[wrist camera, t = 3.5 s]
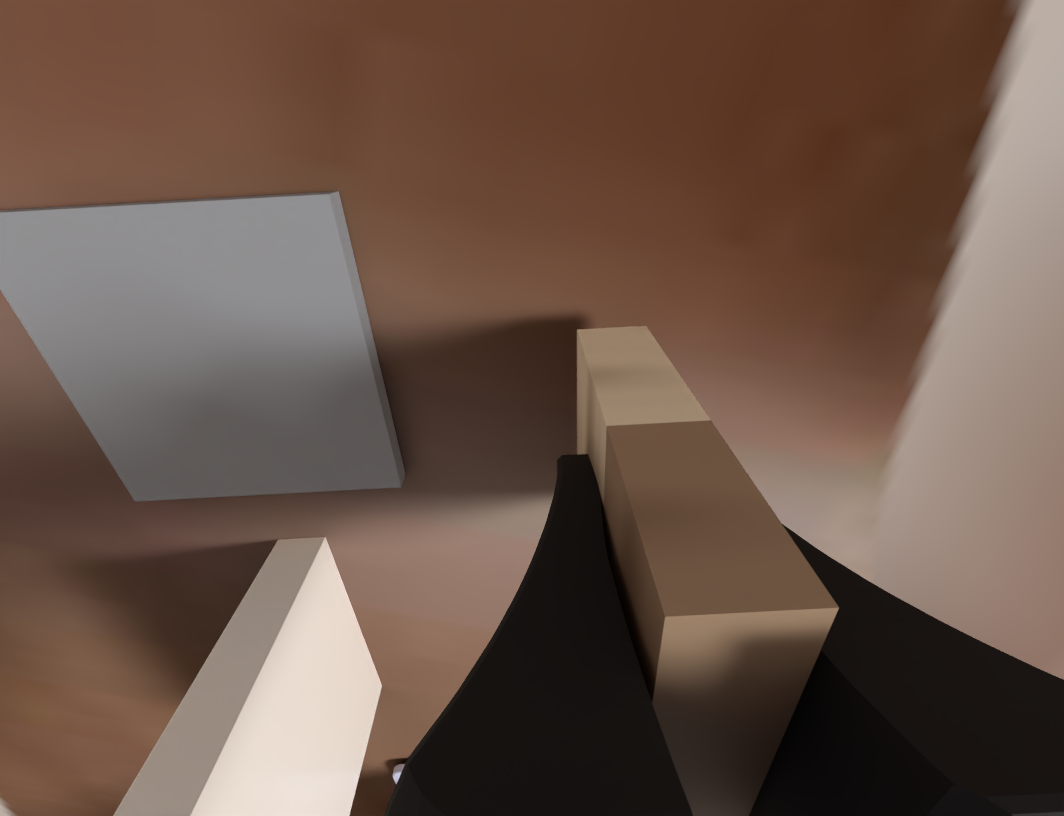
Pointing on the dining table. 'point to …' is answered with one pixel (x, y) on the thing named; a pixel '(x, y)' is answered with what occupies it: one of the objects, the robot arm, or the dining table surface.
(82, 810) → the dining table surface
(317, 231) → the mat
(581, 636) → the robot arm
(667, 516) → the stepped beige block
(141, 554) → the dining table surface
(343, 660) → the tile
